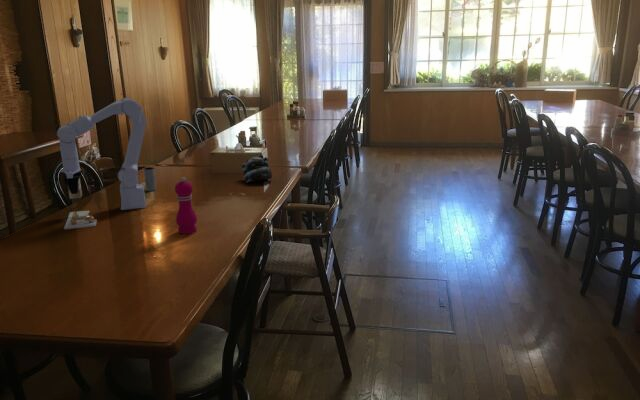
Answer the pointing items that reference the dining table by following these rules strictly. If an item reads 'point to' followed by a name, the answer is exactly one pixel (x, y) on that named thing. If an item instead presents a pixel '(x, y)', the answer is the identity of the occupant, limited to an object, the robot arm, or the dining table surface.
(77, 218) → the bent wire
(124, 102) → the robot arm
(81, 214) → the mat
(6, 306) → the dining table surface
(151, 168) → the grey upright cylinder
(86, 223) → the wire base
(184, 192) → the pepper mill
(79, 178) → the birch block
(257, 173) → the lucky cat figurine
